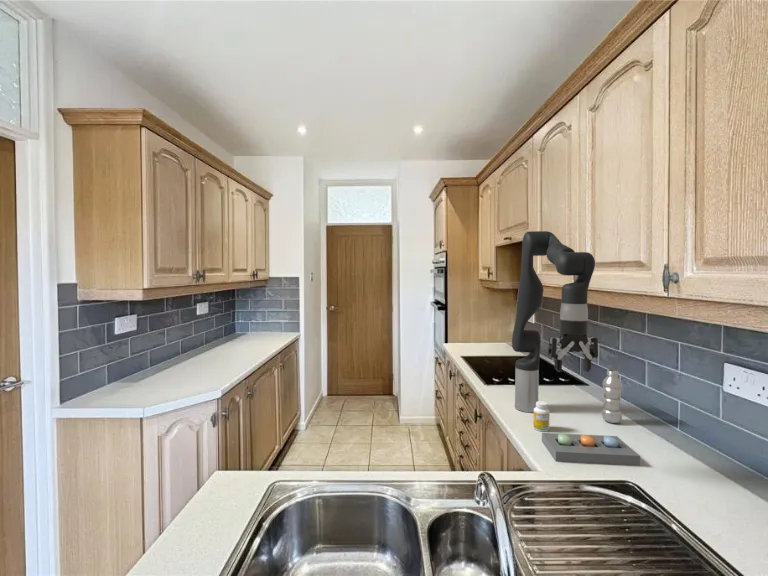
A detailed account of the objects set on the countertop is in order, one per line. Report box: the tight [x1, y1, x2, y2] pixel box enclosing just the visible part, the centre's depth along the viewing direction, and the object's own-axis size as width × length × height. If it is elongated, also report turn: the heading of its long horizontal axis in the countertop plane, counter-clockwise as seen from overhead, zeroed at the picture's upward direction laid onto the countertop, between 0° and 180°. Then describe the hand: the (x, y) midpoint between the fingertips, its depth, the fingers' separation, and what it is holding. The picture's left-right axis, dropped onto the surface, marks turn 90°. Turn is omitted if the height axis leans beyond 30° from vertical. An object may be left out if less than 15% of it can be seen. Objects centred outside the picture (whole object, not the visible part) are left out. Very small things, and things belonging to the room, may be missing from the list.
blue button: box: [603, 435, 619, 448], centre depth 122 cm, size 4×4×2 cm
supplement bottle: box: [532, 400, 550, 433], centre depth 141 cm, size 5×5×10 cm
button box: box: [541, 432, 641, 467], centre depth 123 cm, size 14×24×3 cm, turn 84°
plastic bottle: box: [601, 368, 623, 424], centre depth 148 cm, size 6×7×20 cm
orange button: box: [581, 434, 595, 447], centre depth 123 cm, size 4×4×2 cm
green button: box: [558, 433, 572, 446], centre depth 123 cm, size 4×4×2 cm
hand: (572, 371), depth 117 cm, fingers open, 8 cm apart
